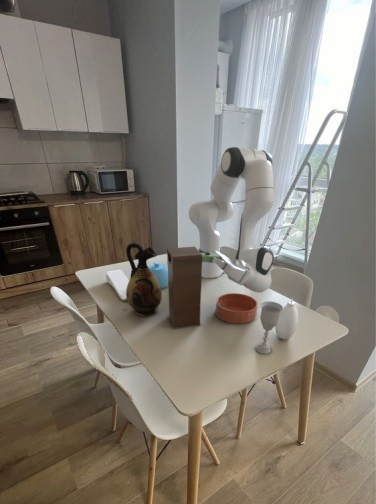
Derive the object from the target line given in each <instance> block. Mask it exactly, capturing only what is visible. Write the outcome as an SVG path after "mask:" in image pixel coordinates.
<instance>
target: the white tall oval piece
mask: <svg viewBox="0 0 376 504" xmlns="http://www.w3.org/2000/svg"><path fill="white" fill-rule="evenodd" d="M298 325H299V313H298V309H297V307H296V303H295V302H294V296H291V300H290V301H287V303H286V305H284V306H283V309H282V310H281V312H280V316H279V321H278V322H277V324H276V325H275V326H274V329H275V334H276V336H277V337H278V338H279V339H281V340H288V339H290V338H292V337H293V335H294V334H295V333H296V331H297V328H298Z"/></svg>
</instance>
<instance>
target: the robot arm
mask: <svg viewBox="0 0 376 504" xmlns="http://www.w3.org/2000/svg"><path fill="white" fill-rule="evenodd" d="M240 180H244V182H245V193H244V194H245V195H244V196H245V199H244V206H243V210H242V214H241V217H240V224H239V236H238V246H237V251H236V255H235V258H234V259H232V260H231V259H230V258H229V257H227V256H226V255H224V254H222V253H221V234H220V233H219V232H218V231H217V230H216V229H215V225H214V224H217V223H223V222H225V221H228V220H230V219H231V218H232V217H233V215H234V210H235V209H234V204H233V202H232V197H233V195H234V193H235V190H236V188H237V186H238V185H239V182H240ZM210 193H211V195H212V196H213V198H212V199H209V200H202V201H197V202H195V203H193V204H191V206H190V207H189V210H188V218H189V220H190V221H191V223H192V224H193V225H195V227H196V228H197V230H198V234H199V249H198V251H199V252H200V253H206V252H210V253H219V254H220V255H221V256H222V260H219V259H218V258H216V257H213V258H212V261H213V262H202V277H201V278H203V279H214V278H219V277H220V276H221V275H222V274H225V275H226V276H227V278H228V280H230V281H232V282H233V283H236V284H238V285H239V286H242V287H244V288H246V289H248V290H250V291H252V292H255V293H264V292H266V291H267V290H268V289H269V288H270V287H271V285H272V283H273V282H272V281H273V280H272V276H271V271H272V266H273V265H274V261H275V256H274V252H273V250H272V249H271V247H268V246H266V245H265V246H264V245H263V246H257V247H253V245H254V235H255V228H256V226H257V224H258V223H259V221H260V220H261V219H262V218H263V217H265V216H266V215H267V214H268V213H269V212H270V211H271V210H272V208H273V206H274V201H275V180H274V170H273V158H272V154H270V153H269V152H268V151H266V150H260V149H257V148H253V147H237V146H231V147H229V148H226V149H225V150H224V152H223V154H222V156H221V160H220V164H219V166H218V168H217V170H216V173H215V176H214V177H213V179H212V182H211V184H210Z"/></svg>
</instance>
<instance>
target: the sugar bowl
mask: <svg viewBox="0 0 376 504" xmlns="http://www.w3.org/2000/svg"><path fill="white" fill-rule="evenodd" d="M148 267H149V269H150V270H151V271H152V273H153V274H154V276H155V277H156V279H157V280H158V282H159V285H160V288H161V290H162V289H166V288H168V266H166V265H165V264H163V263H160V262H154V263H152V264H150V265H148Z"/></svg>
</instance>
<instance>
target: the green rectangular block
mask: <svg viewBox="0 0 376 504" xmlns="http://www.w3.org/2000/svg"><path fill="white" fill-rule="evenodd" d="M201 254H202V262H213V261H212V258H213V257H216V258H218V259H219V260H222V256H221V255H220V254H219V253H210V252H206V253H201Z"/></svg>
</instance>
